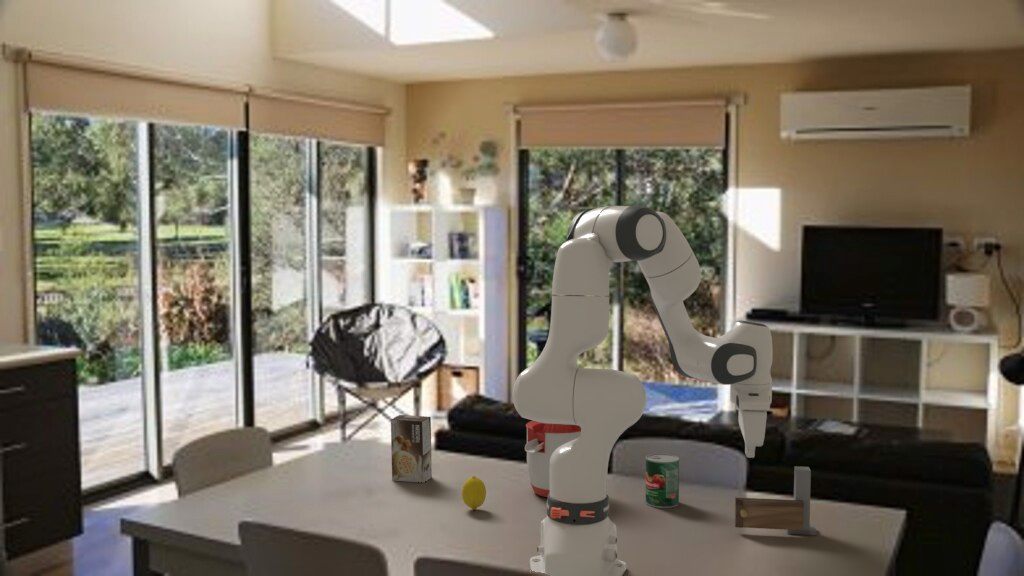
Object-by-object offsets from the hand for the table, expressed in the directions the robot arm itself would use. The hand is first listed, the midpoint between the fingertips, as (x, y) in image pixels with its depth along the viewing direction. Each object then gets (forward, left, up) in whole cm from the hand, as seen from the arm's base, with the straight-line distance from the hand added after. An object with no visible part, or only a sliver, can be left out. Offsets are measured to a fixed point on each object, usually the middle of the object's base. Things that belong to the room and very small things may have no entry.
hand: (749, 455), depth 212 cm
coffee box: (+23, +83, -15) cm, 88 cm away
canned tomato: (+12, +19, -15) cm, 27 cm away
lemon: (0, +62, -15) cm, 64 cm away
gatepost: (-4, -11, -15) cm, 19 cm away
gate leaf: (-8, -4, -14) cm, 16 cm away
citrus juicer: (+16, +45, -15) cm, 50 cm away
